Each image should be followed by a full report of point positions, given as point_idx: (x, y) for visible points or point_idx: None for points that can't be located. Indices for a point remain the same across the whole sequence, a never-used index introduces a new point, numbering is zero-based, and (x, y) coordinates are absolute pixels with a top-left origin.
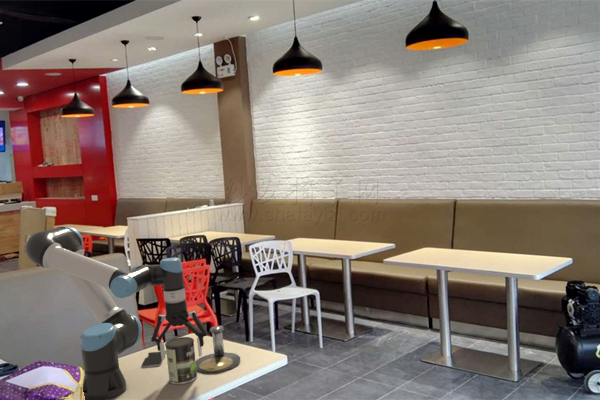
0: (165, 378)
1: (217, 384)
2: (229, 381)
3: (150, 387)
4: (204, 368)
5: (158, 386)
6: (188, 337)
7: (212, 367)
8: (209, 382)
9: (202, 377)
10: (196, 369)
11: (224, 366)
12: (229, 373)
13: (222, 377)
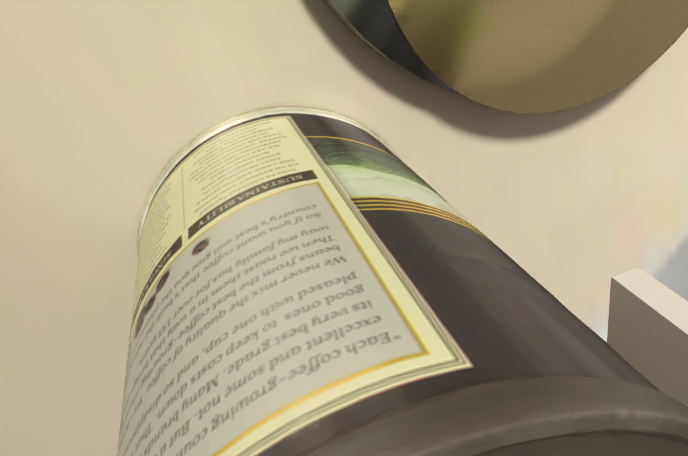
0: (69, 262)
1: (602, 297)
2: (680, 241)
3: (46, 445)
4: (471, 63)
5: (118, 415)
6: (636, 432)
7: (554, 32)
8: (542, 277)
9: (465, 197)
10: (357, 34)
11: (674, 2)
12: (685, 93)
13: (631, 179)
